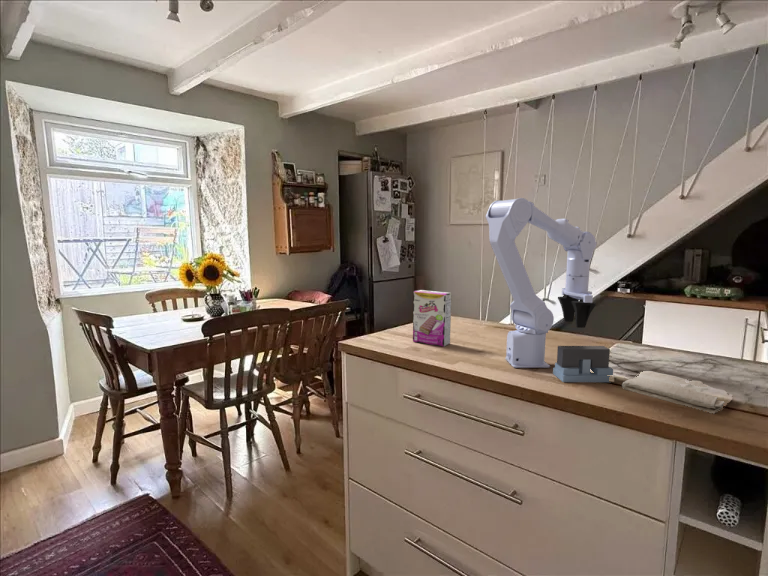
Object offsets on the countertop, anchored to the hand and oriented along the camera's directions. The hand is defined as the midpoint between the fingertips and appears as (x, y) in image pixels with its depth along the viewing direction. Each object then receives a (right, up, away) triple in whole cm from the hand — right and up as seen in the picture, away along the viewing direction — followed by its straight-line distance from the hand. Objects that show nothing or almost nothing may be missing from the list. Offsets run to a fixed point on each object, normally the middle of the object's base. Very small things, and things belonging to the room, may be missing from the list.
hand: (574, 324), depth 117 cm
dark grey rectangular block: (-5, -9, -16) cm, 19 cm away
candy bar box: (-38, -8, +16) cm, 42 cm away
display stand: (-5, -12, -16) cm, 20 cm away
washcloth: (+10, -14, -26) cm, 31 cm away
